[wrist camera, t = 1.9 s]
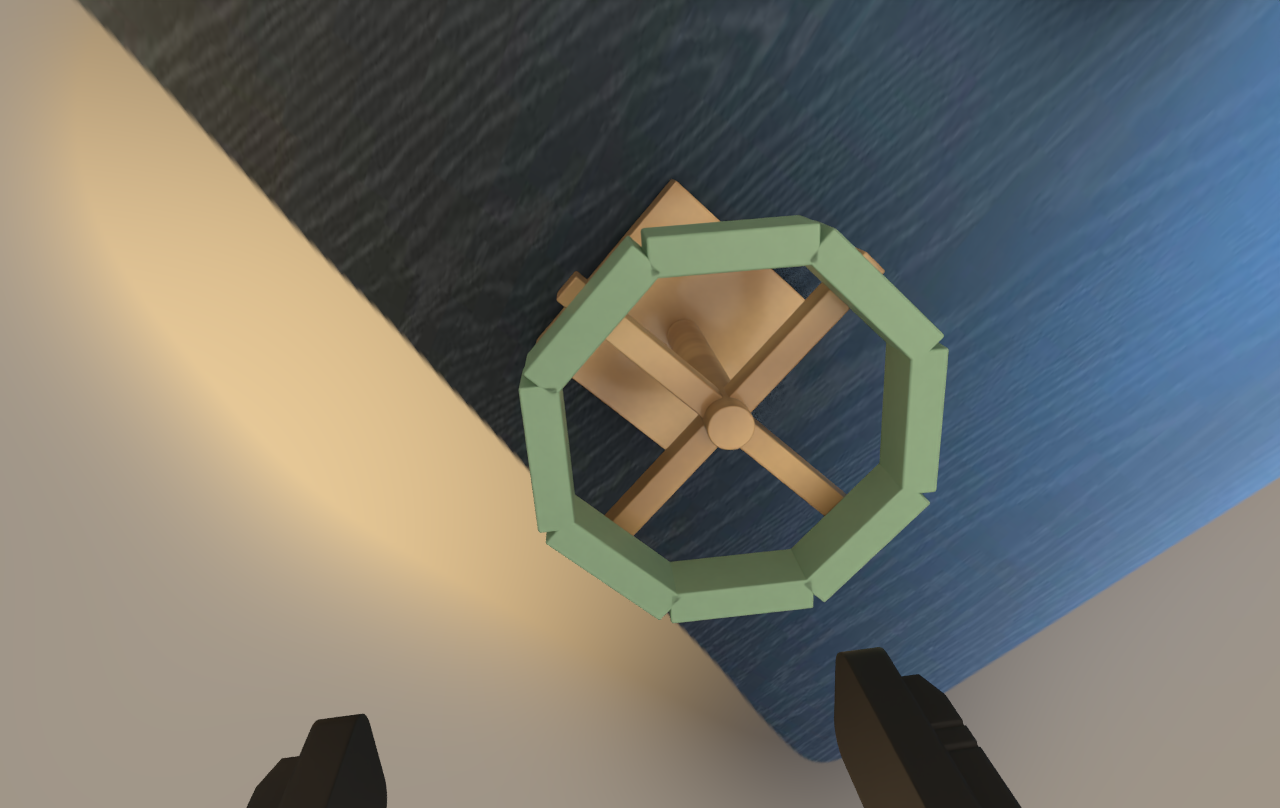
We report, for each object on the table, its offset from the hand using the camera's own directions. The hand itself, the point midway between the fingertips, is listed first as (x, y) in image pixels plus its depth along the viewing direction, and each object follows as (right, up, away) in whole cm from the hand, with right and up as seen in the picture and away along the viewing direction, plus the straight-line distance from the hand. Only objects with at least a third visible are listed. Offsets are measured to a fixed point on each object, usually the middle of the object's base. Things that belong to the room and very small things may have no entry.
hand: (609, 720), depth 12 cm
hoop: (+3, +5, +12) cm, 14 cm away
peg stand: (+2, +9, +23) cm, 25 cm away
